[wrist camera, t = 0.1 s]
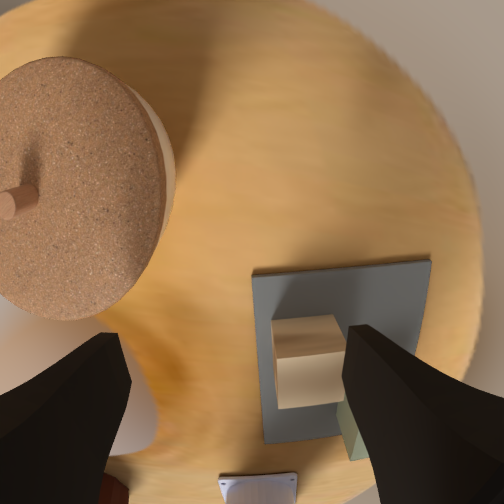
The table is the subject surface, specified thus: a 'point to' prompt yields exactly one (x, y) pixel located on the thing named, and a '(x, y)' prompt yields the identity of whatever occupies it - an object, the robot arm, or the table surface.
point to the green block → (350, 432)
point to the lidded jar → (78, 187)
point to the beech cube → (308, 361)
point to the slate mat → (346, 314)
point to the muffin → (112, 491)
